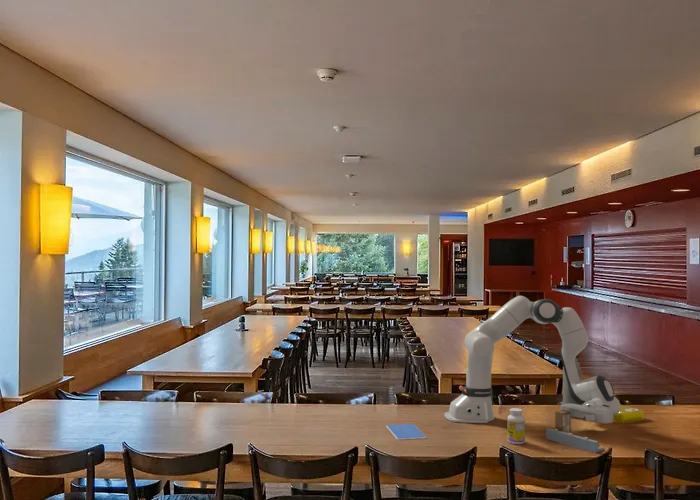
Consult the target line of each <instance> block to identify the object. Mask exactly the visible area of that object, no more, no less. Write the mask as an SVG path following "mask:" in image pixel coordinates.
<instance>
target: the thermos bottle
mask: <svg viewBox="0 0 700 500" xmlns="http://www.w3.org/2000/svg"><path fill="white" fill-rule="evenodd" d="M578 358H579V356H578V355H577V356H576V358H575V364H576V368H577V372H578V376H579V378H580V379H581V380H582V368H581V367H580V366H581V364H580V362H579V361H578V360H579V359H578ZM563 404H578V405H582V404H579V403H577V402H575V401H574V400H573V399H572V398H571V397H570V395H569V390H568V382H567V378H566V374H565V371H564V367H563V366H562V405H563ZM571 419H580V418H579V417H575V416H571Z"/></svg>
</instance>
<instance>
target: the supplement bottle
mask: <svg viewBox="0 0 700 500" xmlns="http://www.w3.org/2000/svg"><path fill="white" fill-rule="evenodd" d="M509 413H510V414H509V415H508V416H507V418H506V420H507V421H506V422H507V423H506V424H507V427H506V429H507V430H506V433H507V434H506V435H507V437H506V438H507V442H508V443H509V444H513V445H523V444H525V442H526V441H525V440H526V438H525V437H526V419H525V416H523V409H521V408H518V407H513V408H510V409H509Z"/></svg>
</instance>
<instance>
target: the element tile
mask: <svg viewBox="0 0 700 500" xmlns="http://www.w3.org/2000/svg"><path fill="white" fill-rule="evenodd" d="M620 406H621V407H620V411H619V412H618V414H616V415H615V416H613V422H616V423H620V424H627V423H635V421H636V422H640V421H639V420H643V421H644V420H645V412H644V410H641V409H638V408H633V407H630V406H626V405H623V404H620Z"/></svg>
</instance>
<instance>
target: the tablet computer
mask: <svg viewBox="0 0 700 500" xmlns="http://www.w3.org/2000/svg"><path fill="white" fill-rule="evenodd" d="M385 428H387V430H388V431H389V432H390V433H391V434H392V436H393V437H394V438H395V440H397V441H407V440H408V441H411V440H427V439H428V437H427V436H426V435H425V434H424V433H423V432H422V431H421V429H419V428H418V427H417V426H416V425H415V424H414V423H404V424H387V425H385Z"/></svg>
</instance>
